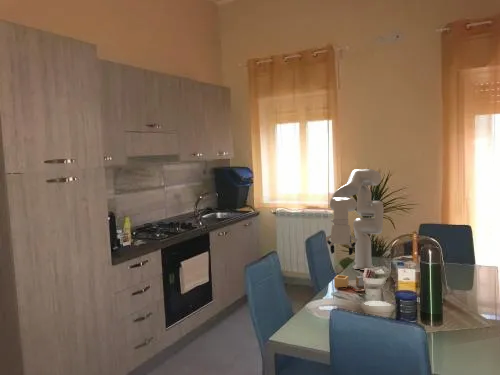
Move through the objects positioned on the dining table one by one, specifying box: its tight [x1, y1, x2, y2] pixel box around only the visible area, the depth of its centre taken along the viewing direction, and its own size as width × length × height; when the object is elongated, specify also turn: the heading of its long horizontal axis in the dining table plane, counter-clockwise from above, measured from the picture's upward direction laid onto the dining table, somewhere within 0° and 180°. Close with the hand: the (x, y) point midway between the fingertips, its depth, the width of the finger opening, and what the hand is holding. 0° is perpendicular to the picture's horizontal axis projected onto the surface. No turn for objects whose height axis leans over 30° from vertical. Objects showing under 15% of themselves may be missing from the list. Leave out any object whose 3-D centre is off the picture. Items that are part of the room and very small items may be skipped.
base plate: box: [348, 283, 364, 290], centre depth 210 cm, size 8×8×2 cm
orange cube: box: [333, 274, 350, 288], centre depth 216 cm, size 6×6×5 cm
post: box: [355, 275, 365, 287], centre depth 210 cm, size 3×3×5 cm
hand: (341, 253), depth 215 cm, fingers open, 9 cm apart
